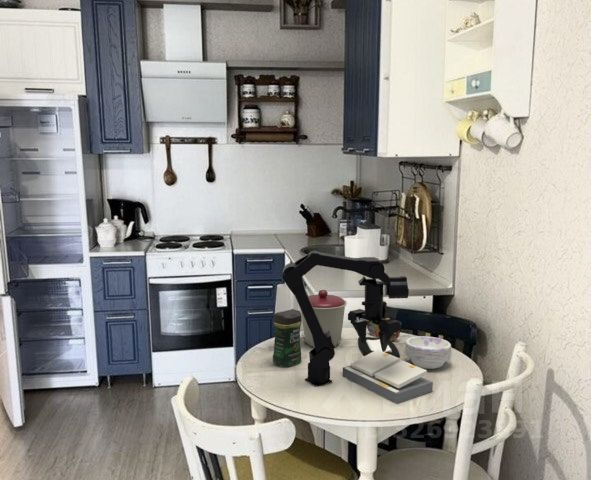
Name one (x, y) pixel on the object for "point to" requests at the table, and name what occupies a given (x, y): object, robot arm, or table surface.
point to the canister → (326, 315)
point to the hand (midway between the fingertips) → (373, 347)
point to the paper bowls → (428, 351)
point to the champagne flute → (283, 298)
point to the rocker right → (400, 374)
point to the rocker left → (374, 362)
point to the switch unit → (389, 386)
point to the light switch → (377, 346)
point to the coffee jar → (287, 338)
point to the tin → (375, 329)
